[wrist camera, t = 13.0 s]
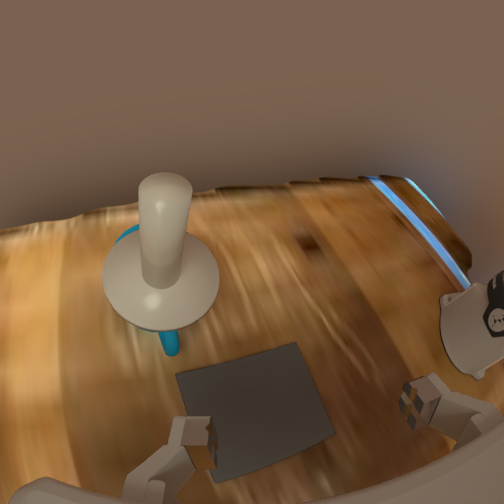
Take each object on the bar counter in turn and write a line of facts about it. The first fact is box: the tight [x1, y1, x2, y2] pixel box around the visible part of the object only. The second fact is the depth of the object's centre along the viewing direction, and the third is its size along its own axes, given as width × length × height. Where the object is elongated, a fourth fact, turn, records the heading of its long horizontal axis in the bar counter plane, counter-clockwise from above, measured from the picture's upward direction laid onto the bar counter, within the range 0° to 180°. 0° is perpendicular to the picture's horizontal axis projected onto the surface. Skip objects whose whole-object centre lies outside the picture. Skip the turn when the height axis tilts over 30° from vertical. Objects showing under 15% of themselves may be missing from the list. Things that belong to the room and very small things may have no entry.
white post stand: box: [102, 172, 220, 332], centre depth 19 cm, size 10×10×10 cm
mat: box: [176, 342, 335, 484], centre depth 26 cm, size 14×12×1 cm
